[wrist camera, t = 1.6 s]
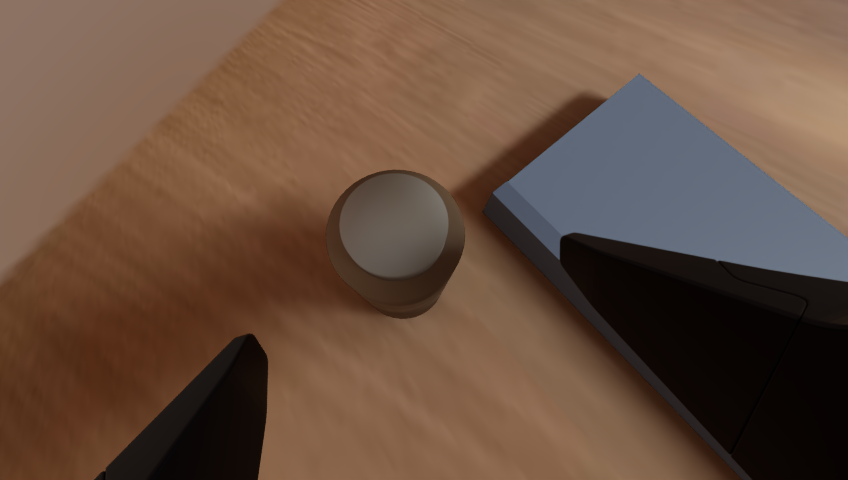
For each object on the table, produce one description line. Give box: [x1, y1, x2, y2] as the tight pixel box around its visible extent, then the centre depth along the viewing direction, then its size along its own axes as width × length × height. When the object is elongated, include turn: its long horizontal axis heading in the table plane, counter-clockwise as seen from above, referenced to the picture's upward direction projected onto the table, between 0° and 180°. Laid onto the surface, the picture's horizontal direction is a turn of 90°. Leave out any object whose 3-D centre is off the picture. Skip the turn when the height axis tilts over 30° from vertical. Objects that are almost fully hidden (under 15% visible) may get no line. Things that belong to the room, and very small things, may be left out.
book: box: [483, 74, 848, 480], centre depth 20 cm, size 14×22×3 cm, turn 41°
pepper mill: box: [326, 170, 465, 319], centre depth 15 cm, size 5×5×10 cm
